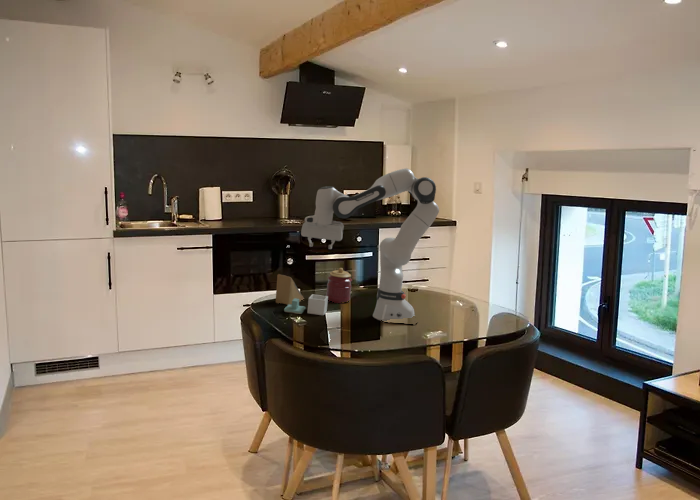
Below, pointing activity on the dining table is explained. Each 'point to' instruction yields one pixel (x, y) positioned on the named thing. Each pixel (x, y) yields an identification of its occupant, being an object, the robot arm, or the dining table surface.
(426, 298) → the dining table surface
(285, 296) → the sandwich container
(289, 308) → the lid
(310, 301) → the box
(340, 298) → the canister
